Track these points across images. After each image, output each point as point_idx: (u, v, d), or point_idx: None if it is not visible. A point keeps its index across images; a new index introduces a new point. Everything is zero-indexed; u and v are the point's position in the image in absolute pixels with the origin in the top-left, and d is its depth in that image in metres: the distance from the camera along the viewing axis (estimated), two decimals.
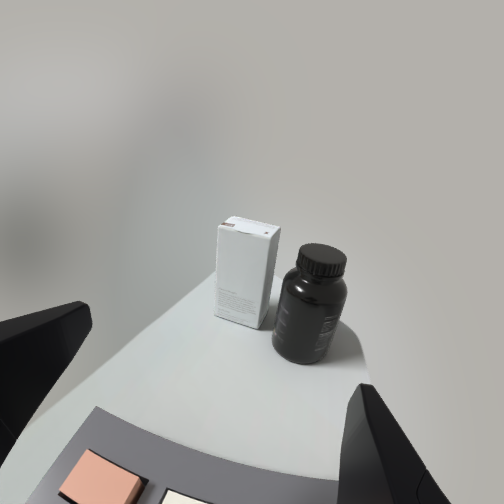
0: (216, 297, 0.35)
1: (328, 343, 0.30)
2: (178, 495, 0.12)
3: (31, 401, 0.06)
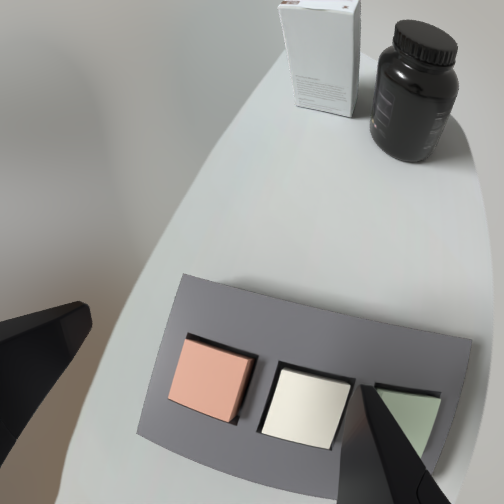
0: (294, 86, 0.24)
1: (437, 140, 0.20)
2: (292, 374, 0.15)
3: (31, 401, 0.06)
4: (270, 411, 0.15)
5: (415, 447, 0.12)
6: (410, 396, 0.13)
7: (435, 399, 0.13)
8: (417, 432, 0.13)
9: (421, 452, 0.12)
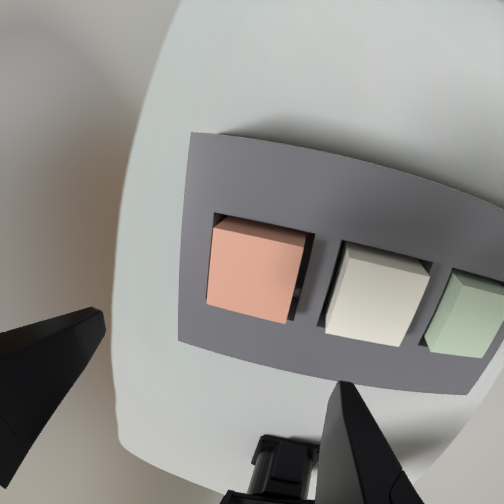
0: None
1: None
2: (363, 263, 0.12)
3: (43, 411, 0.06)
4: (335, 308, 0.13)
5: (480, 346, 0.12)
6: (487, 292, 0.11)
7: None
8: (486, 331, 0.11)
9: (484, 351, 0.12)
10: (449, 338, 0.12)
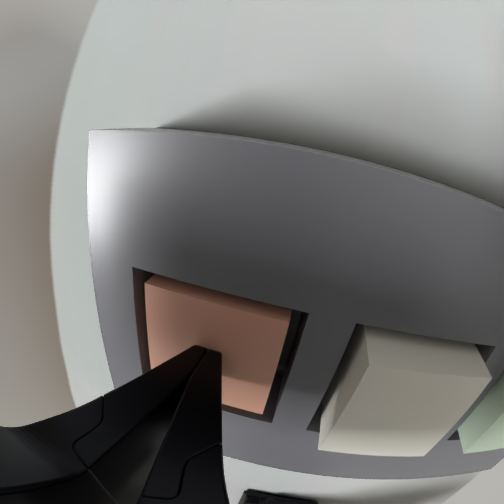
0: None
1: None
2: (393, 372, 0.06)
3: (146, 471, 0.06)
4: (336, 427, 0.07)
5: None
6: None
7: None
8: None
9: None
10: (491, 437, 0.06)
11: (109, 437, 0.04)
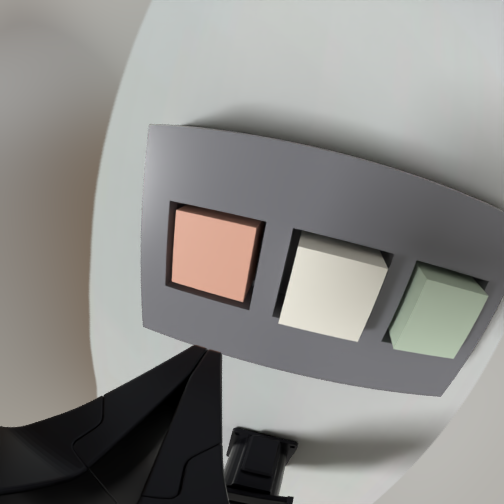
0: None
1: None
2: (313, 252, 0.12)
3: (146, 471, 0.06)
4: (287, 298, 0.13)
5: (451, 345, 0.12)
6: (456, 288, 0.11)
7: (482, 295, 0.11)
8: (456, 330, 0.12)
9: (456, 351, 0.12)
10: (413, 335, 0.12)
11: (109, 437, 0.04)
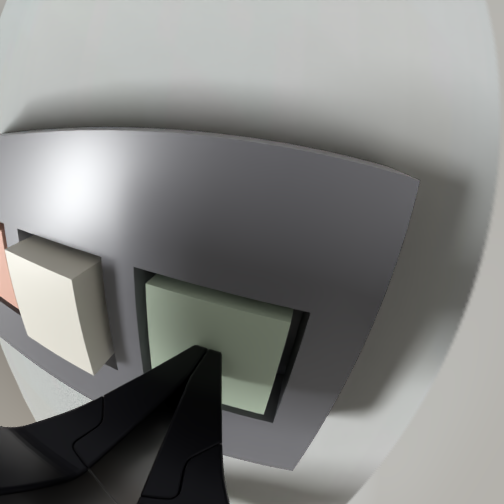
0: None
1: None
2: (13, 256, 0.08)
3: (146, 470, 0.06)
4: (20, 308, 0.09)
5: (246, 395, 0.08)
6: (206, 302, 0.07)
7: (274, 319, 0.07)
8: (242, 373, 0.08)
9: (262, 405, 0.09)
10: None
11: (109, 437, 0.04)
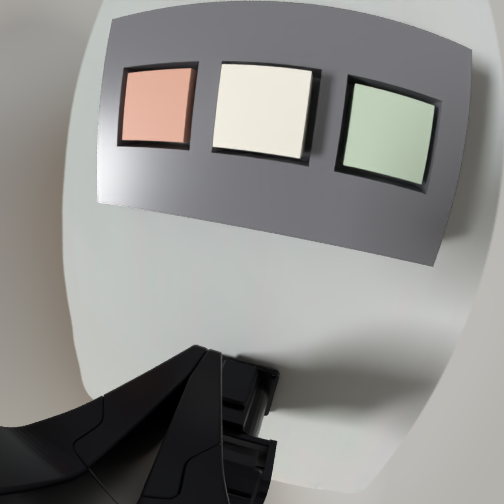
0: None
1: None
2: (235, 66, 0.11)
3: (146, 471, 0.06)
4: (217, 116, 0.12)
5: (412, 164, 0.12)
6: (392, 93, 0.11)
7: (426, 104, 0.11)
8: (411, 143, 0.12)
9: (421, 174, 0.12)
10: (362, 147, 0.12)
11: (109, 437, 0.04)
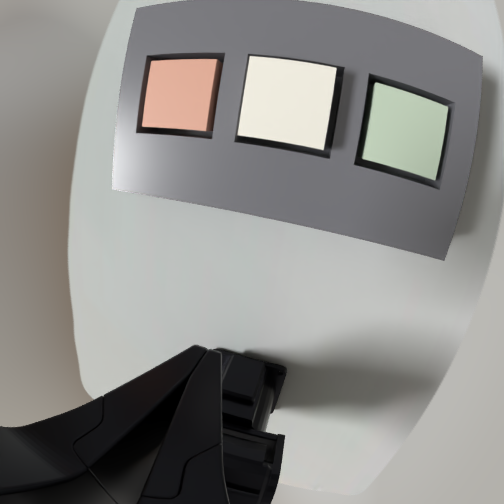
0: None
1: None
2: (263, 59, 0.11)
3: (146, 470, 0.06)
4: (243, 106, 0.12)
5: (427, 161, 0.12)
6: (410, 93, 0.11)
7: (441, 105, 0.11)
8: (426, 141, 0.12)
9: (435, 170, 0.12)
10: (381, 142, 0.12)
11: (109, 437, 0.04)
